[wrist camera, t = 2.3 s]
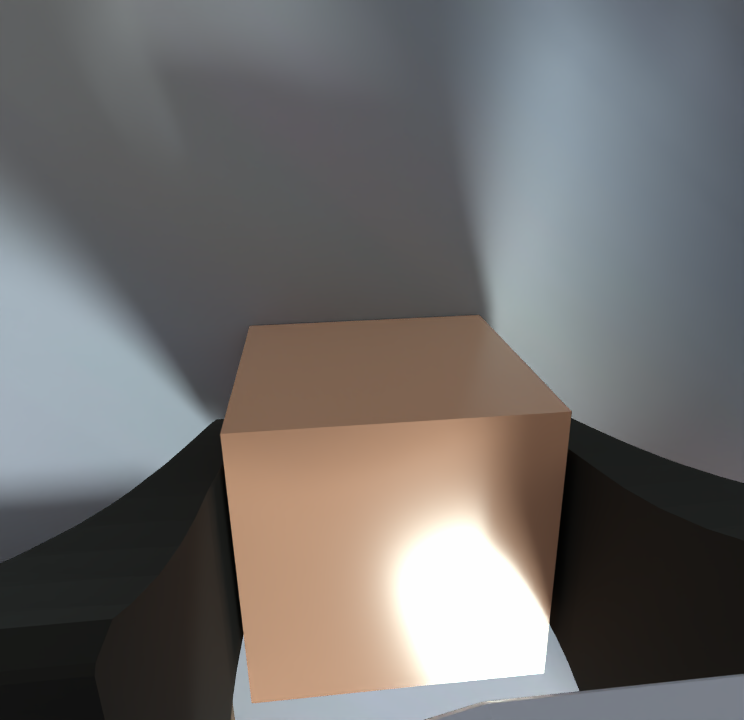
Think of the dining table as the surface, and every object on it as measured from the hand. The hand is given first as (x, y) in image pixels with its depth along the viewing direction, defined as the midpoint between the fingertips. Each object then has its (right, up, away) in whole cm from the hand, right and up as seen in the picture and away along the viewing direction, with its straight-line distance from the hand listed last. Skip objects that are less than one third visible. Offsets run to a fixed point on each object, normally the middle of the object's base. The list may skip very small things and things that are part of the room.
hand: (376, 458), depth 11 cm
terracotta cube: (0, +1, +1) cm, 1 cm away
